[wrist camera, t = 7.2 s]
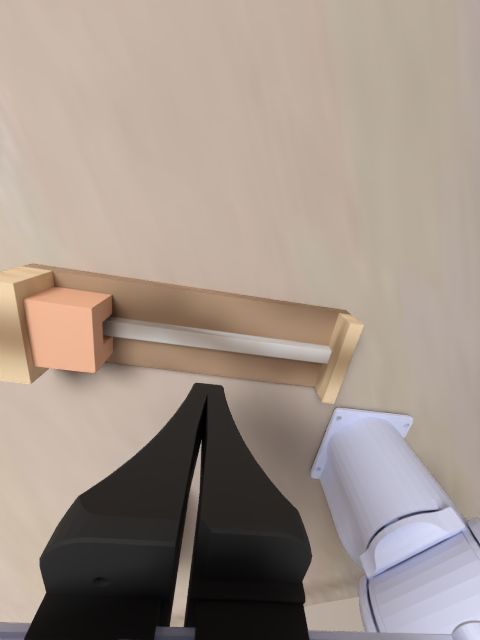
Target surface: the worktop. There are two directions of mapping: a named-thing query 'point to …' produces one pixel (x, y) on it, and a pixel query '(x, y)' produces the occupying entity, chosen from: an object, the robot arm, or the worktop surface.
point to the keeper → (68, 329)
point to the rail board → (190, 330)
